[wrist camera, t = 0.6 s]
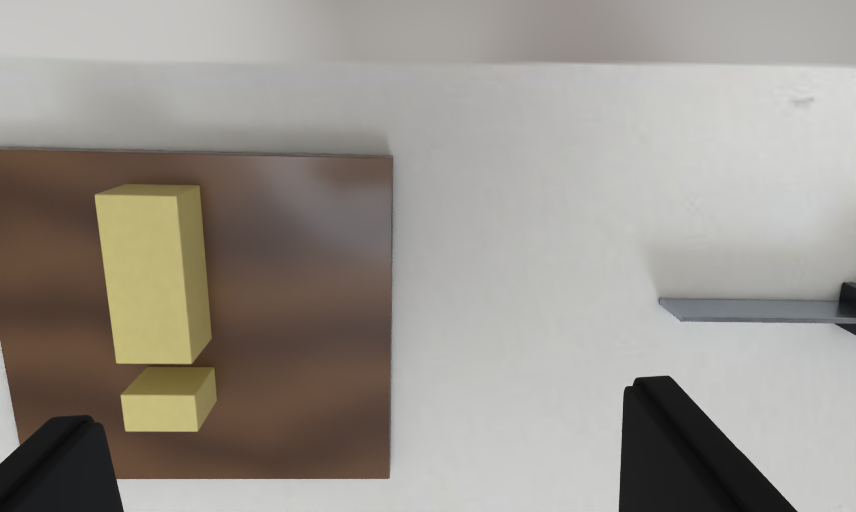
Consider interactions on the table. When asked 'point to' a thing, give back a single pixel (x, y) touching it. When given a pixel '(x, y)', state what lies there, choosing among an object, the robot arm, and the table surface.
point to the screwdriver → (768, 310)
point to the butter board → (213, 309)
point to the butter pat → (169, 399)
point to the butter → (155, 272)
